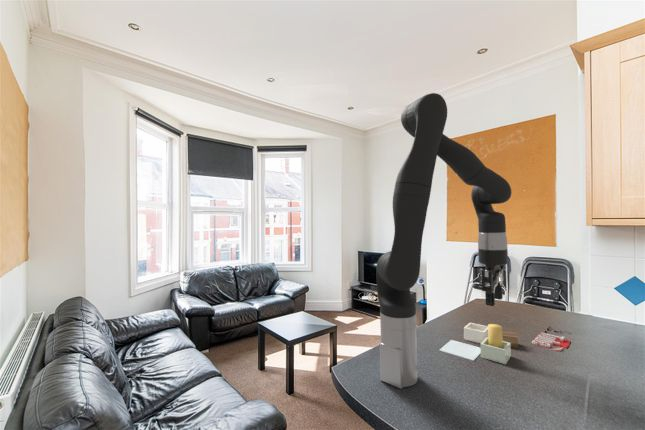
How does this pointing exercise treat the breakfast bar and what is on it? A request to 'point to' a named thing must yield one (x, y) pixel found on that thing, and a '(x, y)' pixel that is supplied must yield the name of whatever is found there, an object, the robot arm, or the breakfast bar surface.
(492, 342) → the peg
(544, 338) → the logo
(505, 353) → the pot green
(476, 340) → the pot white
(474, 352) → the thin white panel
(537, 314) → the breakfast bar surface
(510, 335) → the walnut block
